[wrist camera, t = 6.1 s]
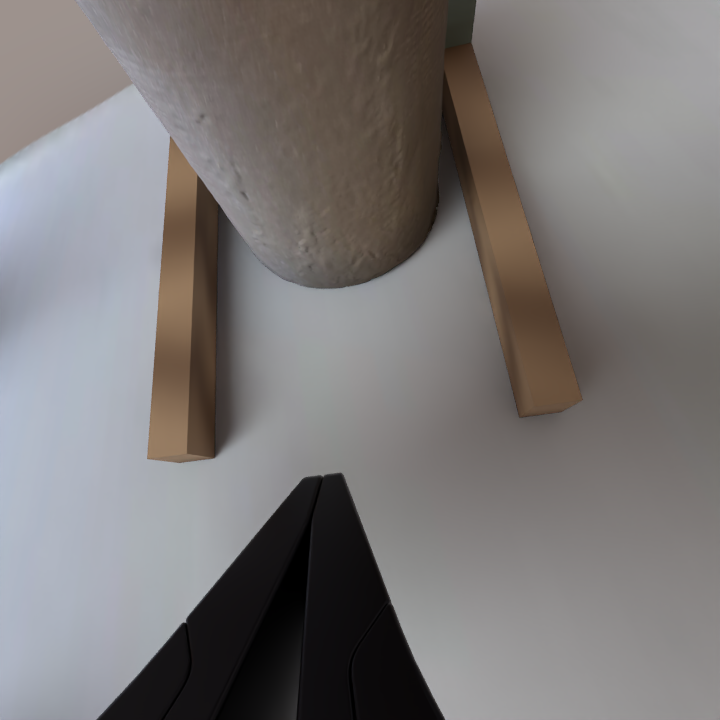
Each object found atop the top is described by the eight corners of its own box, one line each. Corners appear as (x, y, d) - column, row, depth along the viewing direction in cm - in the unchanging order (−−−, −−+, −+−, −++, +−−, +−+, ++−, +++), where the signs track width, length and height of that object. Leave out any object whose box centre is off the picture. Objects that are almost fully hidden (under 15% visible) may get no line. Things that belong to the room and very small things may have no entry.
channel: (560, 412, 14) (611, 383, 11) (179, 462, 16) (104, 454, 12) (460, 64, 21) (469, -31, 17) (194, 123, 22) (148, 48, 18)
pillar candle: (464, 143, 19) (582, -861, 5) (398, 318, 16) (258, -716, 2) (289, 117, 21) (36, -603, 7) (209, 265, 19) (-408, -399, 5)
